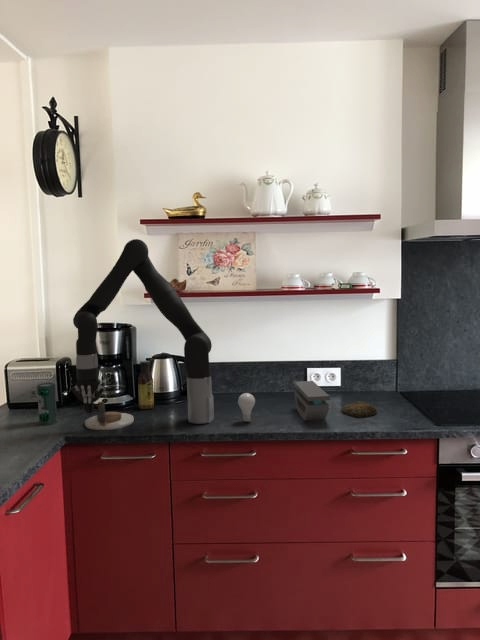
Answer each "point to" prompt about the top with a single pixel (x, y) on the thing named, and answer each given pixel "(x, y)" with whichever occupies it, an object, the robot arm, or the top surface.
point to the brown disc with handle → (106, 415)
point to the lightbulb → (246, 405)
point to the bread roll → (359, 409)
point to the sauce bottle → (145, 386)
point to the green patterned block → (47, 403)
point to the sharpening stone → (311, 401)
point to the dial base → (109, 423)
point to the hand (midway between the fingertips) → (89, 412)
